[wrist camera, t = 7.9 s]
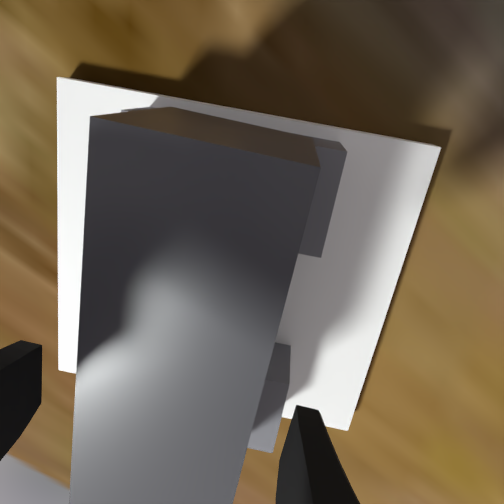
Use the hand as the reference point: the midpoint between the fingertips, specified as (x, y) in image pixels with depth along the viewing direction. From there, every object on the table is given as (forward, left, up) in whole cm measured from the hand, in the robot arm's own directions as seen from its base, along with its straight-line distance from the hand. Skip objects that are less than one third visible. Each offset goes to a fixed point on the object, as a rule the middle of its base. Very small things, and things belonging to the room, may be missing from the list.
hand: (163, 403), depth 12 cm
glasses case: (0, 0, -6) cm, 6 cm away
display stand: (0, 0, -10) cm, 10 cm away
